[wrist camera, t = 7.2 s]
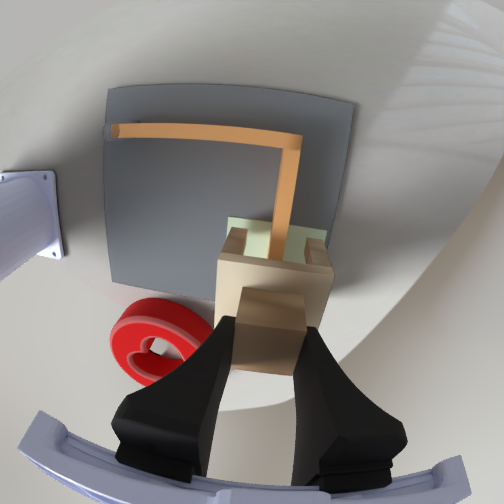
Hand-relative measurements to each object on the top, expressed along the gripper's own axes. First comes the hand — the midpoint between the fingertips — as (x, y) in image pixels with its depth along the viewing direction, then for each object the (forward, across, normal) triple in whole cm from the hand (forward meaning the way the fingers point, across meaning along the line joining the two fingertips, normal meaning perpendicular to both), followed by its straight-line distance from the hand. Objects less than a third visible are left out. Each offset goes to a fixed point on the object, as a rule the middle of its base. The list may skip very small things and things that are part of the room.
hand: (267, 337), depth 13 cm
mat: (+8, +4, -4) cm, 10 cm away
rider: (+6, 0, 0) cm, 6 cm away
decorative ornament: (+8, +8, +10) cm, 15 cm away
